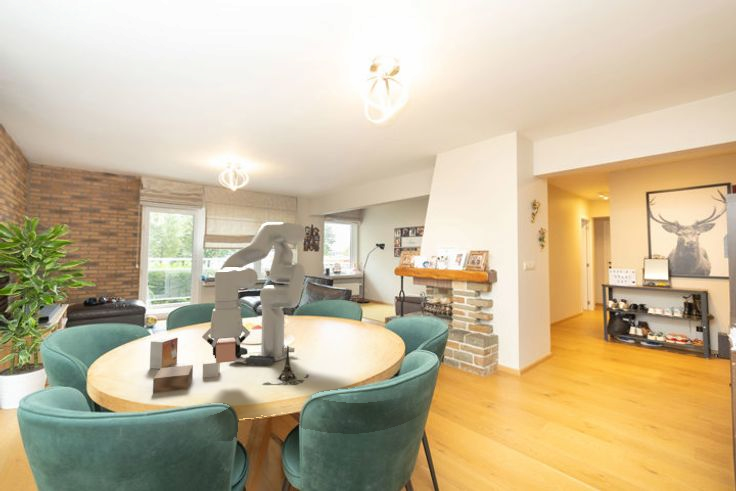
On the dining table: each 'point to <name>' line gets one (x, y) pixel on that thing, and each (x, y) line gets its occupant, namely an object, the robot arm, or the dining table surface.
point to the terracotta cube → (225, 351)
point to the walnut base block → (173, 378)
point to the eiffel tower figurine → (287, 375)
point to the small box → (163, 352)
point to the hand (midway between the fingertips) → (226, 355)
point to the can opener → (254, 359)
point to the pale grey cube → (211, 368)
